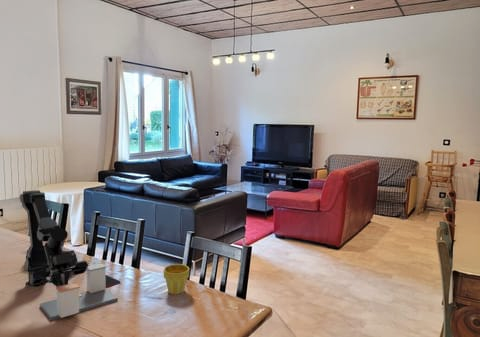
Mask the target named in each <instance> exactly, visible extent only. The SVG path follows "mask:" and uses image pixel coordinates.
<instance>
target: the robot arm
mask: <svg viewBox="0 0 480 337" xmlns="http://www.w3.org/2000/svg"><path fill="white" fill-rule="evenodd" d="M45 194H46V193H45V192H44V191H43V192H42V191H41V190H40V189H37V190H26V191H25V190H23V191H22V193H20V194H19V201H20V203H21V206H22V208H23V209H24V210H25V212H26V213H27V222H28V232H29V243H30V246H31V247H30V246H29V247H30V249H29V248H28V249H29V251H28V253H27V252H26V254H27V258H26V257H25V261H24V263H23V264H24V270H25V271H26V272H27V274H28V275H27V276H28V281H26V282H25V285H28V286H29V285H30V286H34V287H40V286H41V285H43V284H45V283H47V282H48V283H49V284H53V285H54V286H55V288H56V287H58V286H62V285H67V284H69V279H71V277H72V275H73V274H74V275H75V276H78V275H81V274H85V273H86V272H87V268H88V266H89V264H88V261H87V260H78V262H75V264H74V266H72V267H67V266H68V265H69V262H71V260H72V259H75V254H76V252H75V249H71V250H67V251H68V252H67V254H65V253H63V251H64V250H63V246H64V245H65V243H66V241H67V238H68V236H69V235H68V234H69V233H68V231H67V230H66V229H64V228H63V227H60V225H59V224H58V223H57V221H56V220H55V219H52V216H51V214H50V210H49V207H48V205H47V202H46V196H45ZM47 268H50V269H49V271H47Z"/></svg>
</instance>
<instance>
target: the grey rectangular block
mask: <svg viewBox="0 0 480 337" xmlns="http://www.w3.org/2000/svg"><path fill="white" fill-rule="evenodd" d="M106 269H107V266H106V265H105V264H103V263H96V264H93V265H88V268H87V269H86V291H89V292H90V293H94V292H97V291H101V290H105V289H107V288H106V280H105V275H106Z"/></svg>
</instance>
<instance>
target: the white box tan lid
mask: <svg viewBox="0 0 480 337" xmlns="http://www.w3.org/2000/svg"><path fill="white" fill-rule="evenodd" d="M55 289H56V299H57V314H58V315H59V316H60V317H61V318H60V319H62V318H65V317H68V316H69V317H70V316H72V315H75V314H79V313H80V312H79V293H80V289H81V288H80V285H79V284H77V283H76V282H71V283H68V284H67V285H62V286H58V287H56V286H55Z"/></svg>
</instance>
